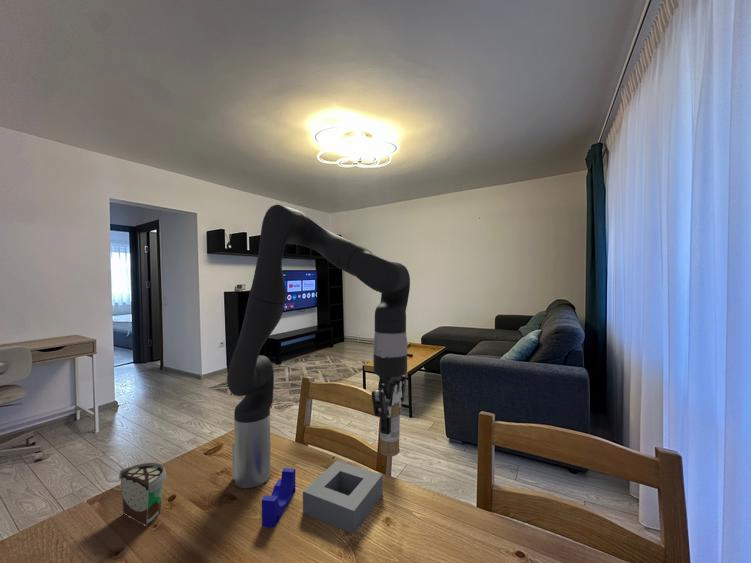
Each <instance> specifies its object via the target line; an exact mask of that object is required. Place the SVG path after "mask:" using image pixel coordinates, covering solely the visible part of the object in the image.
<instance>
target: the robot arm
mask: <svg viewBox="0 0 751 563" xmlns="http://www.w3.org/2000/svg"><path fill="white" fill-rule="evenodd" d="M260 229H261V230H260V237H259V238H260V239H259V246H258V252H257V253H258V254H257V260H256V264H255V269H254V274H253V280H252V284H251V288H250V291H249V295H248V298H247V299H248V300H247V303H246V307H245V308H246V309H245V313H244V318H243V322H242V325H241V330H240V334H239V336H238V340H237V344H236V345H235V348H234V352H233V354H232V357H231V360H230V363H229V366H228V369H227V374H226V375H227V376H226V384H227V387H228V390H229V392H230V393H231V394H232V395H234V396H237V397H243V396H244V397H243V399H242V400H241V401H240V402H239V403H237V405H236V406H235V407H234V408H235V409H234V412H233V416H234V421H233V422H234V425H233V426H234V429H233V431H234V443H232V448H231V449H232V450H231V452H232V453H231V454H232V457H231V460H232V480H234V483H235V484H234V485H235V486H237V487H238V488H242V489H253V488H256V487H258V486H261V485H262V484H264V483H266V482H267V481H268V480H269V479H270V477H271V472H272V470H271V457H272V456H271V408H272V405H273V402H274V386H275V383H274V382H275V375H274V374H275V372H274V367H273V363H272V362H271V360H270V359H269V357H267V356H265V355H262V354H260V352H261V350H262V347H263V346H264V344H265V343H266V341H267V339H268V338H269V337H271V336H270V335H271V334H272V333H273V331H274V330H275V328H276V327H277V326H278V325H279V322H280V320H281V319H282V315H283V312H284V309H285V304H286V301H287V295H288V294H287V286H286V280H285V277H284V272H283V266H282V263H283V257H284V252H285V248H286V246H287V244H288V245H298V246H301V247H305V248H308V249H310V250H313V251H314V252H316V253H318V254H320V255H321V256H322V257H323V258H324V259H325V260H326V261H328V262H329V263H330V264H331V265H333V266H334V267H336V268H338V269H340V270H342V271H344V272H346V273H347V274H349V275H351V276H354V277H355V278H357V279H358V280H359V281H360V282H362V283H363V284H364V285H365V286H367V287H369V288H370V289H372V290H373V291H376V292H378V293H380V295H381V296H380V303H379V304H378V305H377V307H376V308H375V310H374V335H373V345H372V346H373V348H372V349H373V351H372V352H373V356H372V357H373V358H372V359H373V364H372V365H373V366H372V368H373V373H374V374H375V375H377V376H378V379H379V380H378V388H377V389H376V390H373V389H372V391H371V400H372V406H373V412H374V416H375V417H379V433H380V432H381V433H383V434H387V435H389V434H390V433H391V409H392V406H393V405H394V401H395V393H396V392H397V391H399V392H400V401H399V415H401V411H400V410H401V408H402V403H403V402H405V397H406V396H405V395H406V394H405V393H406V388H407V387H406V384H407V375H406V374H407V373H408V337H407V307H408V302H409V295H410V290H411V277H410V273H409V270H408V268H407V267H406V266H405V265H404V264H402V263H400V262H395V261H390V260H386V259H384V258H381V257H379V256H377V255H375V254H374V253H373V252H372V251H370V250H369V249H368V248H366V247H363V246H362V245H360V244H358V243H356V242H354V241H351V240H349V239H347V238H345V237H342V236H340V235H338V234H336V233H333V232H331V231H329V230H328V229H326V228H324V227H323V226H321V225H319V224H318V223H317V222H316V221H314V219H312V218H310V217H309V216H307V215H306V214H305V213H304V212H302V211H300V210H298V209H296V208H293V207H289V206H286V205H282V204H273V205H272V206H270V207H269V208H268V209H267V211H266V212H265V215H264V216H263V219H262V224H261V228H260ZM385 398H386V399H390V402H387V401H385ZM386 405H387V407H386Z"/></svg>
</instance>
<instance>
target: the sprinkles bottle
mask: <svg viewBox="0 0 751 563" xmlns="http://www.w3.org/2000/svg"><path fill="white" fill-rule="evenodd" d="M385 401H387V402H390V399H386V398H385ZM399 401H400V392H399V391H397V392H396V393H395V401H394V405H393V406H392V409H391V433H390V434H389V435H387V434H383V433H381V432H380V431H379V439H380V440H379V442H380V443H379V453H381V454H382V455H383V456H384V457H395V456H397V455H398V454H400V451H401V450H400V438H401V435H400V431H401V430H400V423H401V419H400V418H401V416H400V415H401V414H400V415H399ZM386 407H387V405H386Z"/></svg>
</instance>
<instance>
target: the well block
mask: <svg viewBox="0 0 751 563" xmlns="http://www.w3.org/2000/svg"><path fill="white" fill-rule="evenodd" d="M383 481H384V478H383V474H381V473H379V472H376V471H373V470H369V469H366V468H362V467H359V466H356V465H352V464H349V463H346V462H343V461H340V460H335V461H334V462H333V463H332V464H331V465H330V466H329V467H328V468H327V469H325V471H323V472H322V473H321V474H320V475H318V477H317V478H316V479H315V480H313V482H312V483H310V484H309V485H308V486H307V487H306V488H304V490H302V513H303V514H305V515H307V516H309V517H311V518H314V519H317V520H320V522H321V521H322V522H325V523H326V524H329V525H331V526H333V527H336V528H339V529H341V530H342V531H346V532H348V533H350V534H353V535H355V534H356V533H357V531H358V530H359V529H360V527H361V526H362V524H363V523H364V521H365V520H366V518H367V517H368V515H369V514H370V513H371V512H372V510H373V508H374V507H376V505H377V504H378V501H380V498H381V497H382V496H383V493H384V492H383V491H384V490H383V486H384V485H383Z"/></svg>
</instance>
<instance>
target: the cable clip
mask: <svg viewBox="0 0 751 563" xmlns="http://www.w3.org/2000/svg"><path fill="white" fill-rule="evenodd" d="M296 485H297V484H296V468H290V467H283V469H282V471H281V477H280V478H279V479H278V480H277V481H276V483H275V484H274V485H273V489H272V493H271V495H264V496H263V498H261V527H264V528H265V527H266V528H276V526H277V525H278V522H280V519H281V517H282V516H283V514H284V512H285V510H286V509H287V507H288V505H289V503H290V502H291V500H292V498H293V496H294V494H295V493H296V488H297V487H296Z"/></svg>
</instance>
